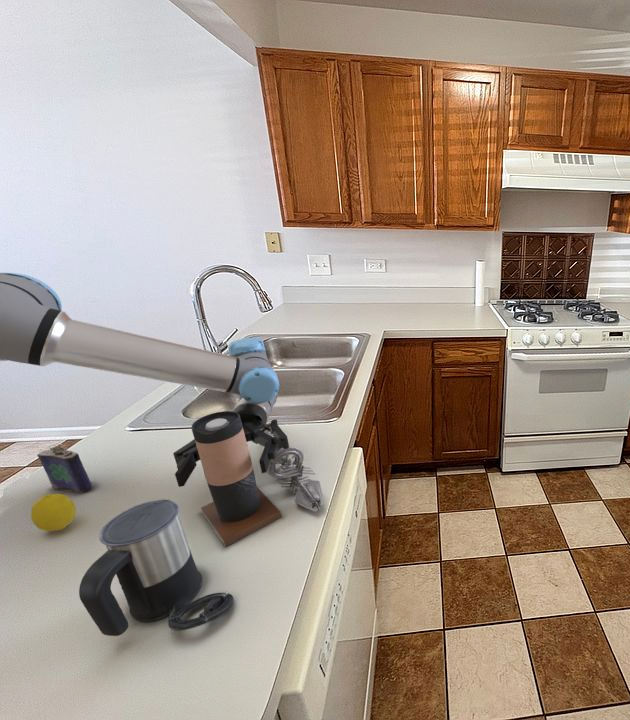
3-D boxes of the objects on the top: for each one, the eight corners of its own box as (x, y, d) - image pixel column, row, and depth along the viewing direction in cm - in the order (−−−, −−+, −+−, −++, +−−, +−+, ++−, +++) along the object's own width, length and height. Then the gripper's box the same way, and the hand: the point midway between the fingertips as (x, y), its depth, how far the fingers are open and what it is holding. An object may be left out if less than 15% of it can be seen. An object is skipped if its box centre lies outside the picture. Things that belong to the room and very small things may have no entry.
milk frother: (151, 574, 66) (122, 503, 61) (254, 557, 69) (235, 488, 64) (94, 664, 53) (52, 583, 48) (224, 637, 56) (198, 558, 51)
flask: (49, 489, 86) (30, 447, 83) (65, 480, 89) (46, 439, 85) (84, 494, 85) (65, 452, 81) (98, 485, 87) (81, 444, 84)
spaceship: (278, 412, 102) (245, 412, 96) (343, 487, 80) (305, 492, 74) (270, 440, 103) (237, 441, 97) (332, 521, 81) (294, 529, 75)
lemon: (51, 523, 77) (35, 489, 74) (87, 515, 79) (73, 482, 76) (33, 544, 72) (15, 509, 69) (72, 535, 74) (56, 501, 71)
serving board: (202, 513, 79) (200, 507, 79) (255, 488, 86) (253, 483, 86) (225, 547, 71) (223, 541, 71) (281, 517, 78) (280, 511, 78)
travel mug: (248, 491, 83) (226, 407, 76) (269, 504, 80) (249, 417, 73) (209, 514, 77) (181, 424, 70) (231, 529, 74) (204, 436, 66)
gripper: (309, 424, 95) (299, 477, 76) (191, 440, 89) (147, 503, 69) (304, 396, 93) (292, 444, 74) (182, 410, 86) (134, 468, 67)
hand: (222, 473), depth 71 cm, fingers open, 13 cm apart
